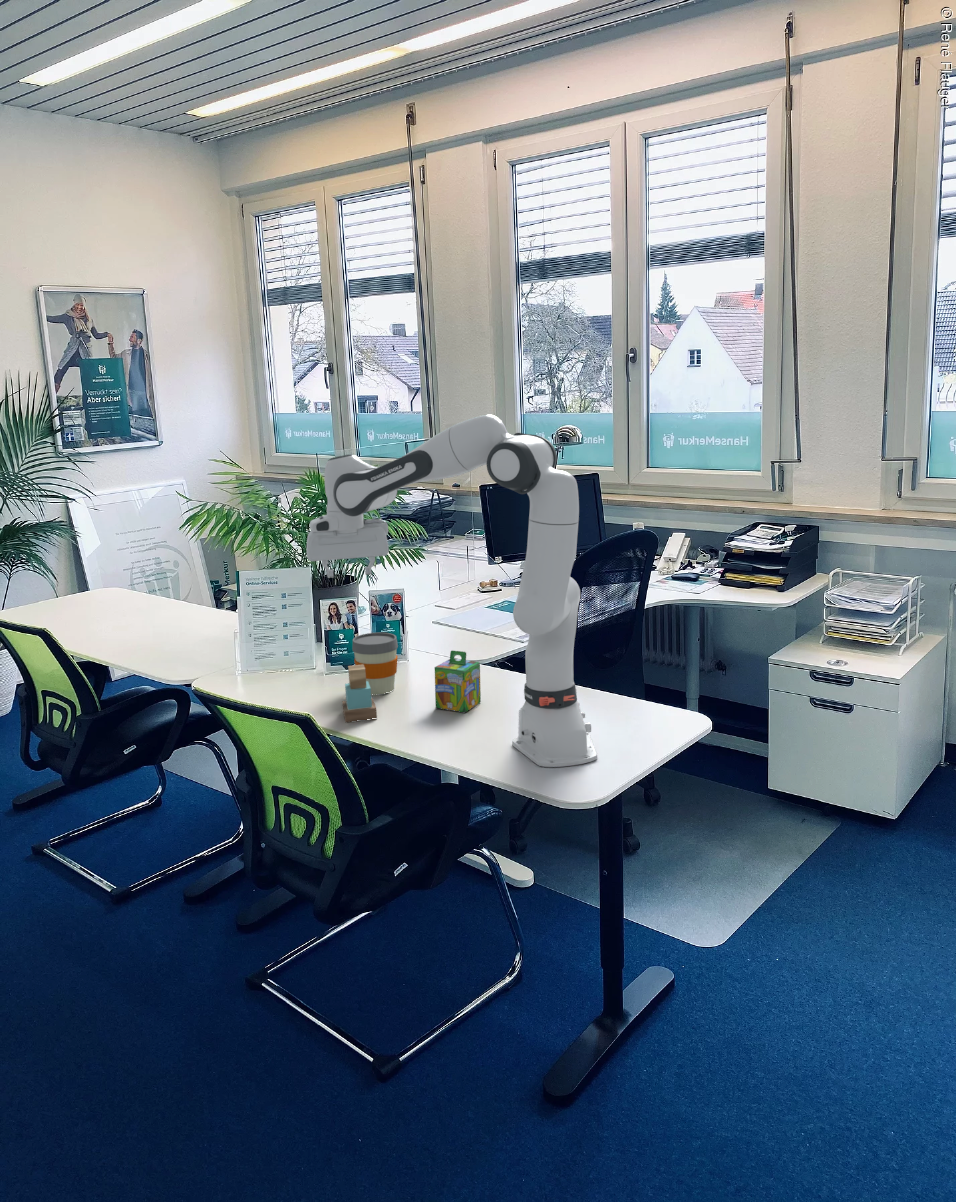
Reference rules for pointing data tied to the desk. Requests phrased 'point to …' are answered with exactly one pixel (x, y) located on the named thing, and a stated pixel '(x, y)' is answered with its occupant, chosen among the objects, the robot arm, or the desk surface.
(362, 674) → the oak block
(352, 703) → the teal block
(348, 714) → the walnut slab
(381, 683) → the reusable coffee cup
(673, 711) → the desk surface
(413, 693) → the desk surface
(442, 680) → the chalk box
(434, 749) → the desk surface
